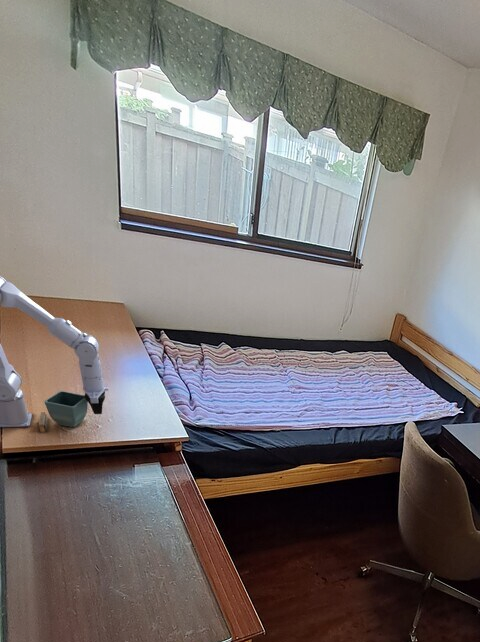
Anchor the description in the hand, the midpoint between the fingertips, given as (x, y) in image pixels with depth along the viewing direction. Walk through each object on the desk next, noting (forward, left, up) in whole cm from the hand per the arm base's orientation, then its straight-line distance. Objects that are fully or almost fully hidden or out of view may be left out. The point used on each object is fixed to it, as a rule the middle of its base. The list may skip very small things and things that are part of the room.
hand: (98, 412), depth 151 cm
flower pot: (-8, 0, -4) cm, 9 cm away
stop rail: (-15, -1, -4) cm, 16 cm away
